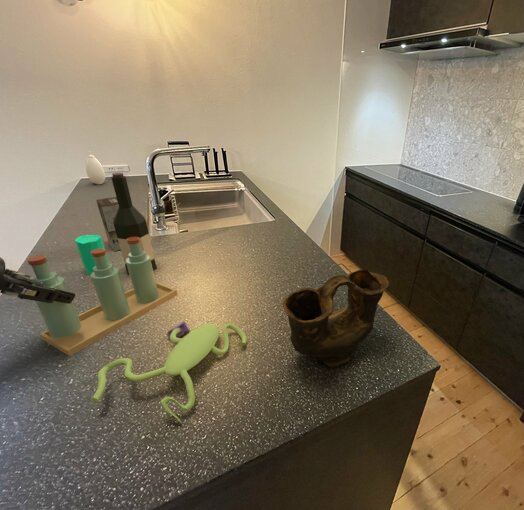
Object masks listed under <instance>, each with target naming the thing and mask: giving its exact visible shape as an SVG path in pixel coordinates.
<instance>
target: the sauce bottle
mask: <svg viewBox="0 0 524 510" xmlns="http://www.w3.org/2000/svg"><path fill="white" fill-rule="evenodd" d="M85 172H86V175H87V177H88V178H89V180H90V181H91V182H92V183H94V184H95V185H101V184H103V183H104V182H105V180H106V171H105V169H104V166H103V165H102V164H101V162H100V161H99V160H98V159H97V157H95V155H92V152H91V151H89V154H88V158H87V159H86V163H85Z"/></svg>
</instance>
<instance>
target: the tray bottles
mask: <svg viewBox="0 0 524 510" xmlns="http://www.w3.org/2000/svg"><path fill="white" fill-rule="evenodd" d="M139 242H140V240H139V237H130V238H127V243H128V244H129V247H130V251H131V253H129V254H128V257H129V258H127V259H126V264H127V268H128V271H129V275H128V276H129V279H130V283H131V285H132V289H134V293H135V297H136V300H137V302H138V303H142V304H145V303H150V302H153V301H155V300H156V299H158V297H159V294H158V290H157V285H156V282H157V281H156V277H155V273H154V271H153V268H152V264H151V260H150V256H148V255H146V254H145V252H144V251H141V248H140V244H139ZM90 253H91V256H92V257H93V258H94V261H95V264H96V266H95V267H94V268H93V271H94V272H92V273H91V274H90V278H91V281H92V284H93V287H94V291H95V293H96V296H97V299H98V302H99V305H101V308H102V311H103V313H104V316H105V319H107V320H109V321H115V320H119V319H122V318H124V317H126V316H127V315H128V314H129V313H130V308H129V305H128V302H127V298H126V295H125V292H126V291H125V288H124V285H123V281H122V278H121V275H120V272H119V269H118V268H117V267H114V266H113V264H112V263H110V262H109V263H108V262H107V259H106V255H107V252H106V249H102V248H100V249H94V250H92V251H91V252H90ZM105 254H106V255H105Z"/></svg>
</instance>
